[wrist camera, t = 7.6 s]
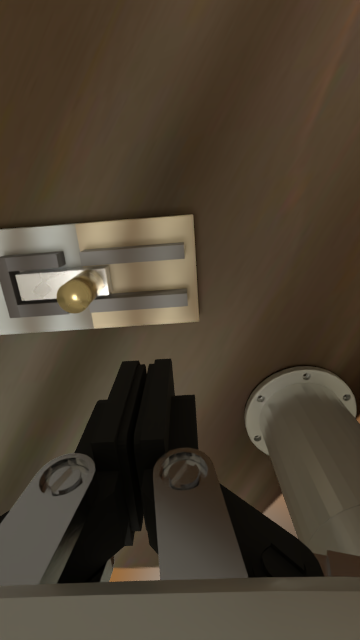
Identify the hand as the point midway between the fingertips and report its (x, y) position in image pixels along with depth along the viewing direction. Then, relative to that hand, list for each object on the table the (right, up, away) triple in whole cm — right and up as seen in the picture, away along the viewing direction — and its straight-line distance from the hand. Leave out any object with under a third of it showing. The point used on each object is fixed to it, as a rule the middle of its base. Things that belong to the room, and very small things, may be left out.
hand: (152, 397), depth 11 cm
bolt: (-10, +6, +19) cm, 22 cm away
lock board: (-8, +7, +20) cm, 23 cm away
